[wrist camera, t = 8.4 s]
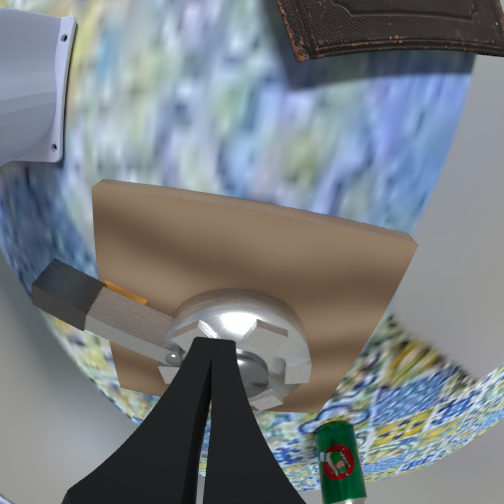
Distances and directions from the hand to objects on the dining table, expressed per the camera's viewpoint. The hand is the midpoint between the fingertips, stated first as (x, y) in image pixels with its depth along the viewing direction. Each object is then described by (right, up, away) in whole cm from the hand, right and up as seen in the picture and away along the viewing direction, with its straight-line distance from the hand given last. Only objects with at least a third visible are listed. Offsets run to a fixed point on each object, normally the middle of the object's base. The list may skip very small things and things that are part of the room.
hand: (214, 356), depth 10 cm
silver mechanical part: (-4, -1, +10) cm, 10 cm away
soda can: (+12, -19, +22) cm, 31 cm away
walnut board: (0, -2, +12) cm, 12 cm away
